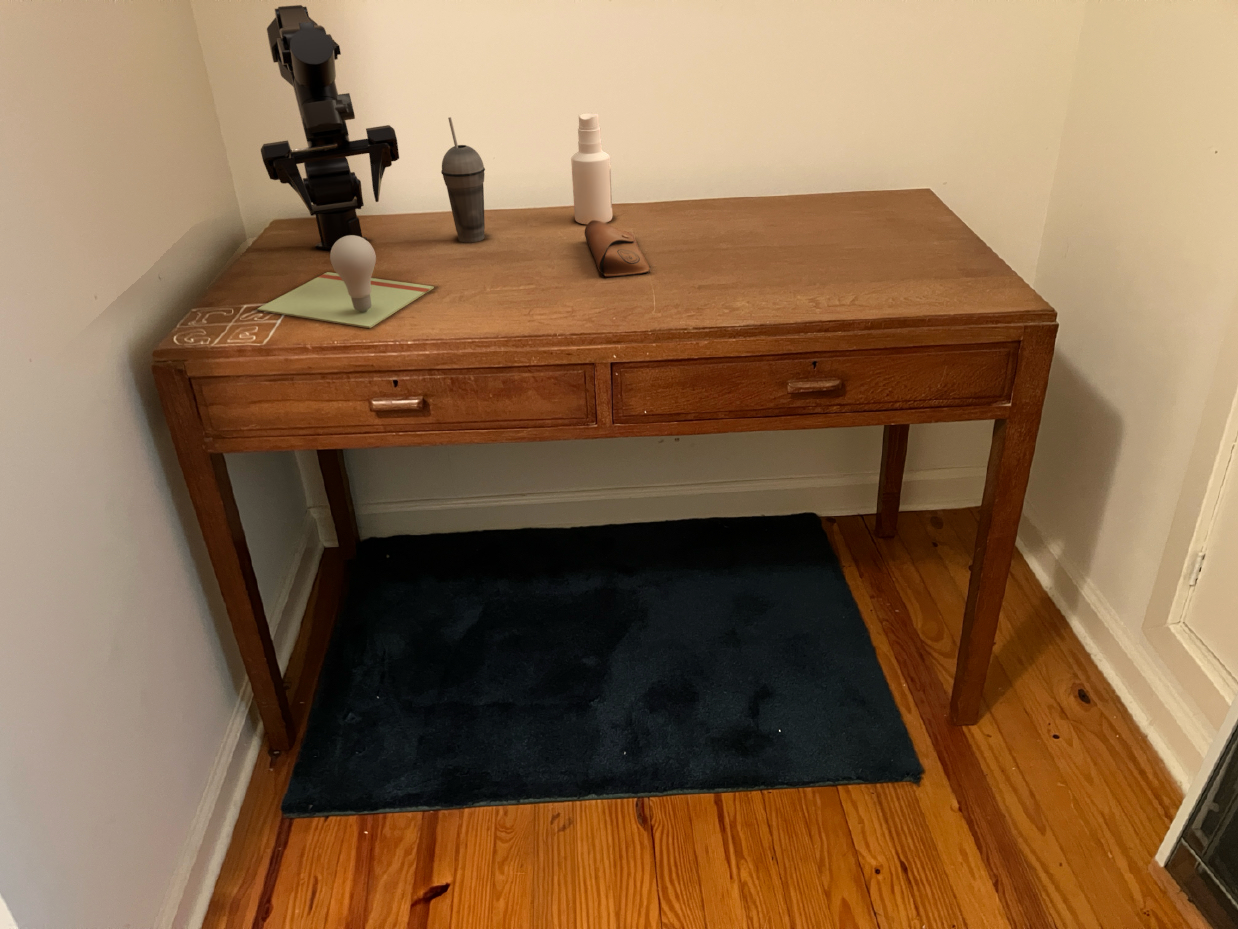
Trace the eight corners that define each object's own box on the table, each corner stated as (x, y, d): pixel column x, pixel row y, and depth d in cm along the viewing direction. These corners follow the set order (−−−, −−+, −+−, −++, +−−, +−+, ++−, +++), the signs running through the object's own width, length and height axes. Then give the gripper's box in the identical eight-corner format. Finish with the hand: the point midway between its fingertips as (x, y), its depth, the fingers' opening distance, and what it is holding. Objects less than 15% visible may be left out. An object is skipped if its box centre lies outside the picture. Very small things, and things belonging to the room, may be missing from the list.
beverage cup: (484, 245, 155) (470, 122, 144) (444, 244, 156) (427, 121, 145) (498, 232, 161) (485, 112, 150) (458, 230, 162) (443, 112, 151)
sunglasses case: (654, 269, 140) (631, 234, 137) (616, 295, 141) (592, 261, 138) (633, 234, 155) (612, 202, 152) (599, 257, 157) (577, 226, 153)
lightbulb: (356, 301, 134) (341, 228, 128) (393, 305, 132) (380, 230, 127) (333, 317, 129) (317, 241, 123) (371, 321, 127) (357, 244, 122)
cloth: (257, 310, 133) (257, 308, 133) (328, 273, 146) (327, 271, 145) (369, 328, 126) (369, 326, 126) (433, 288, 139) (433, 286, 138)
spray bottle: (617, 215, 167) (614, 111, 157) (605, 226, 161) (600, 119, 152) (582, 212, 169) (577, 110, 159) (569, 223, 163) (562, 118, 154)
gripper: (241, 84, 123) (265, 189, 121) (380, 65, 127) (406, 166, 125) (259, 129, 134) (281, 227, 131) (387, 110, 138) (410, 205, 135)
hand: (344, 206), depth 130 cm, fingers open, 9 cm apart
